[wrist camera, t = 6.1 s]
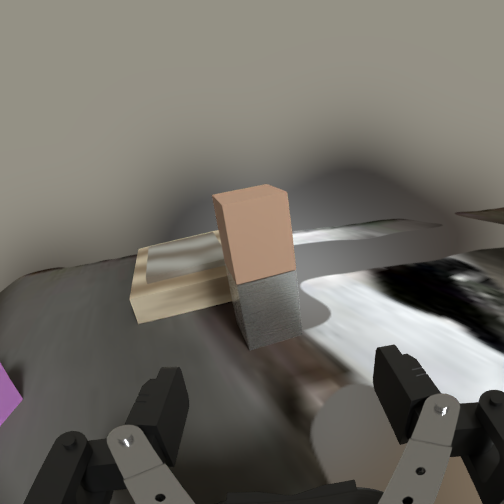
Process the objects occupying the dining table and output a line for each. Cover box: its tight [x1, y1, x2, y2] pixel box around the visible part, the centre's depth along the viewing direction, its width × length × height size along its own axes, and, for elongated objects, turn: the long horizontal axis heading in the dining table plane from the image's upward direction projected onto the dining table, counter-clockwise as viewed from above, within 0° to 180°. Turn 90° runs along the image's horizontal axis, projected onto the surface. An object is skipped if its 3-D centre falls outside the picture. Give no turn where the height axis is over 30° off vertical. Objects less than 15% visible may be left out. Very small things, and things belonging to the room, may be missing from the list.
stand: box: [130, 230, 232, 324], centre depth 43 cm, size 18×14×4 cm
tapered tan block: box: [212, 184, 296, 285], centre depth 27 cm, size 5×5×6 cm
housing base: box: [225, 264, 302, 350], centre depth 29 cm, size 5×5×8 cm
